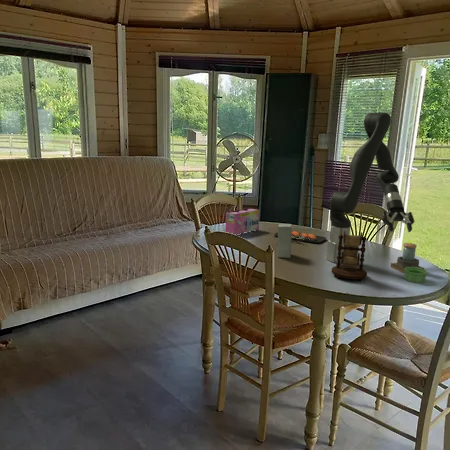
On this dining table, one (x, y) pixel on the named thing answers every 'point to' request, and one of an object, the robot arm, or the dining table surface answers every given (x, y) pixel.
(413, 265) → the socket
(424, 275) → the ramekin
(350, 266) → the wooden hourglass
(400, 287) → the dining table surface
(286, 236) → the skincare box
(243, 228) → the gum box
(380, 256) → the dining table surface
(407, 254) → the canister
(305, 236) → the sushi plate
